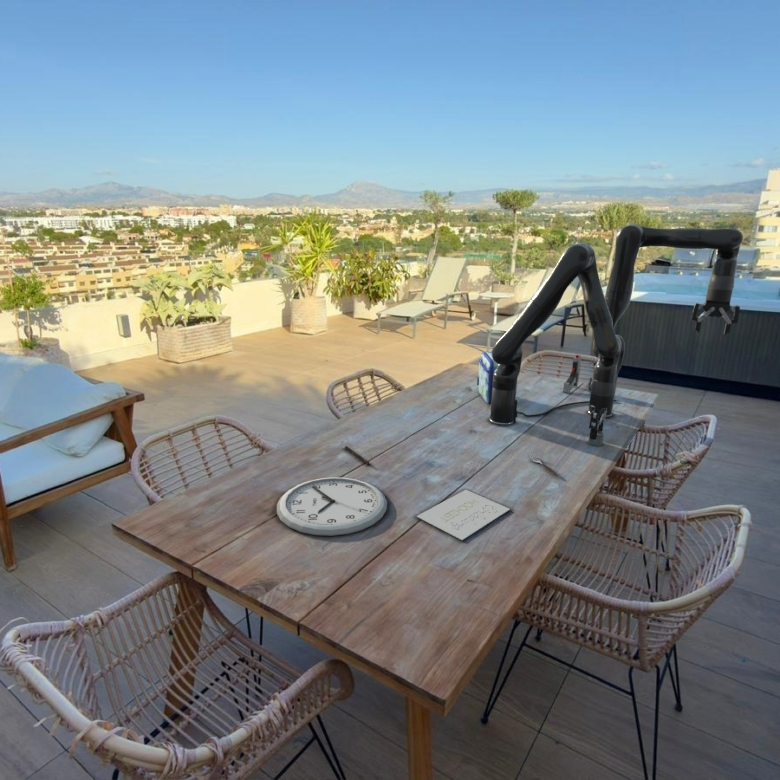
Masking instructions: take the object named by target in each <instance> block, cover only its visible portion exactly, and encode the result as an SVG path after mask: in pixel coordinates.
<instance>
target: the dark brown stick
mask: <svg viewBox="0 0 780 780" xmlns="http://www.w3.org/2000/svg"><path fill="white" fill-rule="evenodd" d="M344 449H345V450H346V451H348V452H349V453H350V454H352V455H353V456H355V457H356V458H358V459H359V460H361V461H362V462H363V463H364V464H366V465H370V461H368V460H367V459H366V458H364V457H363V456H361V455H360V454H358V453H357V452H356V451H354V450H353V449H352V448H350V447H348V446H347V445H345V446H344Z"/></svg>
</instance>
